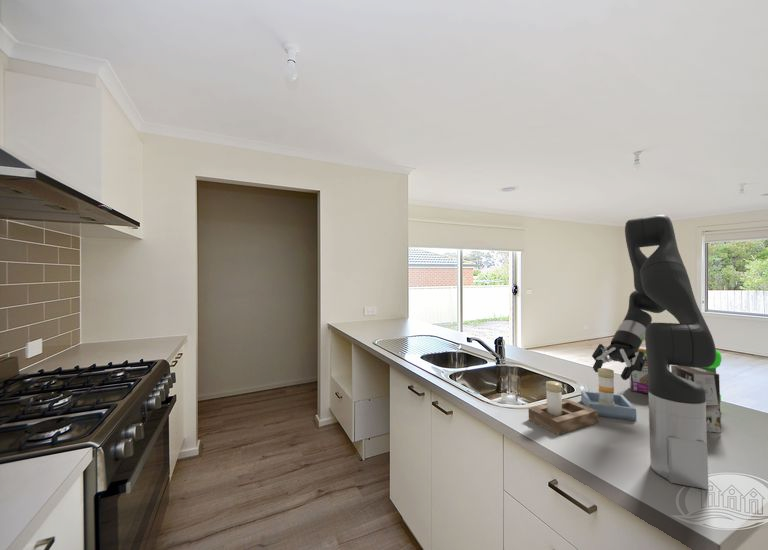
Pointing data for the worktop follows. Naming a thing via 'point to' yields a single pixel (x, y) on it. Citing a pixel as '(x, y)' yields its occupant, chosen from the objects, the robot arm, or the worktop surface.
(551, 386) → the cylinder
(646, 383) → the candy bar box
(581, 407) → the fuse holder
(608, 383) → the cylinder
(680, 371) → the coffee box
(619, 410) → the tray
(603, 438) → the worktop surface
